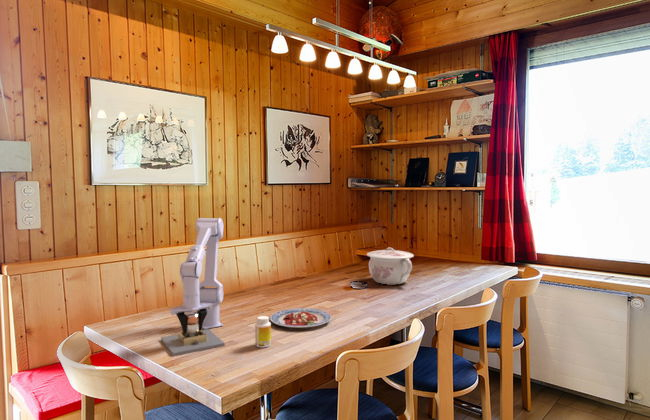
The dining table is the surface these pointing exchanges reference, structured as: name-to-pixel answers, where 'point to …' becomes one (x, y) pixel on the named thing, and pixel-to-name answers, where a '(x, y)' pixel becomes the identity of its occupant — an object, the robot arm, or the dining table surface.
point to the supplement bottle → (263, 332)
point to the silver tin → (192, 324)
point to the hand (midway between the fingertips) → (192, 331)
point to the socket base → (179, 348)
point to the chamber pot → (390, 266)
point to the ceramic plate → (300, 317)
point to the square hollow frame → (192, 338)
